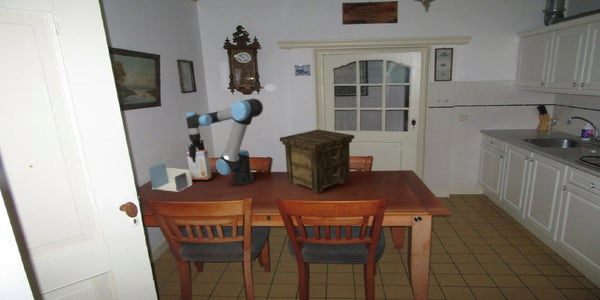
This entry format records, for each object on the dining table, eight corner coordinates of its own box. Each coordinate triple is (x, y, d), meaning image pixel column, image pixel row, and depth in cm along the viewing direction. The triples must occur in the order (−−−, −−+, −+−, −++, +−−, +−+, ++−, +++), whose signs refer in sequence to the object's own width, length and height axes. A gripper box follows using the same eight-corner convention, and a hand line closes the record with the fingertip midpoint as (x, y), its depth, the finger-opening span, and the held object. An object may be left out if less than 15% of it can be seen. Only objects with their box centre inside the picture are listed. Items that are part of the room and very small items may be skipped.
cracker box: (212, 177, 225) (208, 149, 219) (207, 180, 219) (203, 151, 214) (195, 176, 228) (190, 149, 223) (190, 179, 222) (186, 152, 217)
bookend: (187, 186, 214) (185, 172, 212) (178, 191, 206) (176, 177, 204) (186, 186, 215) (184, 172, 212) (176, 190, 207) (174, 177, 204)
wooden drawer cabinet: (319, 171, 234) (317, 129, 226) (354, 182, 208) (354, 135, 200) (282, 183, 213) (279, 137, 205) (317, 197, 187) (314, 145, 178)
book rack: (192, 186, 218) (189, 164, 214) (178, 193, 205) (174, 170, 201) (167, 183, 227) (163, 162, 223) (152, 189, 215) (147, 168, 211)
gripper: (199, 130, 225) (204, 160, 231) (180, 136, 208) (185, 168, 214) (207, 130, 223) (212, 161, 228) (188, 136, 205) (194, 169, 211)
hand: (199, 164), depth 221 cm, fingers closed on cracker box, 6 cm apart
